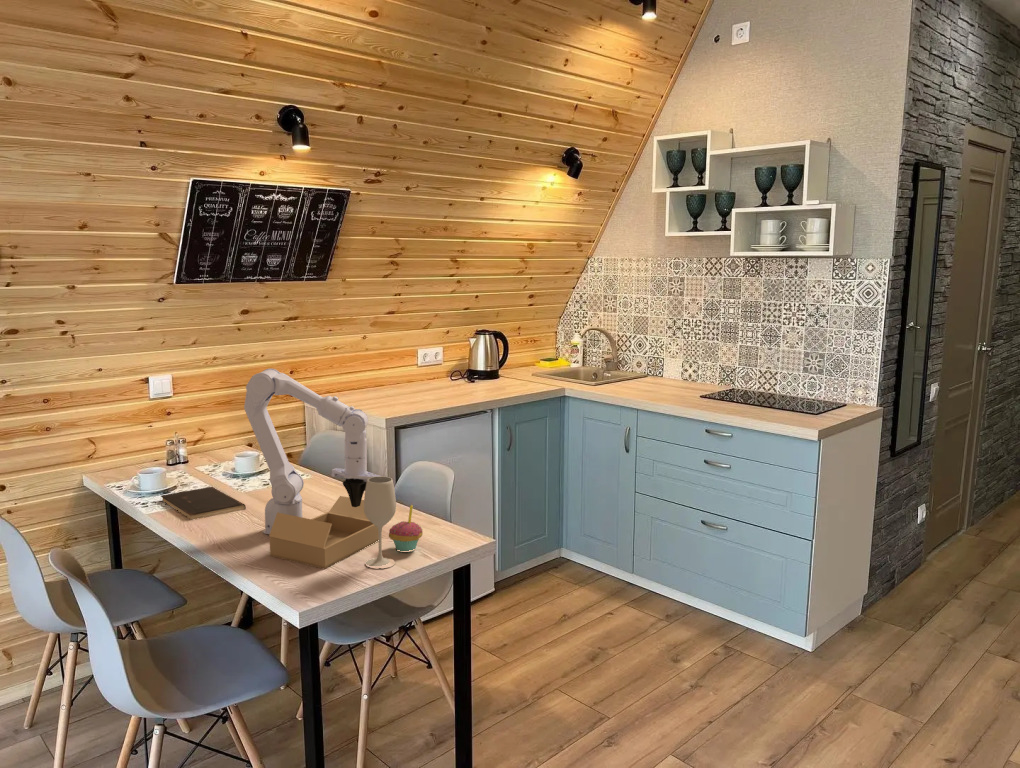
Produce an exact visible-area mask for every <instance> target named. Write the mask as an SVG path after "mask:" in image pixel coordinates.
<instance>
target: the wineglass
mask: <svg viewBox="0 0 1020 768" xmlns="http://www.w3.org/2000/svg"><path fill="white" fill-rule="evenodd" d="M363 500H364V513H365V515H366V517H367V518H368V519H369V521H370V522H372V523H373V524H374V525H375V526H377V528H378V532H379V541H378V555H377V557H373V558H374V559H372V558H370V559H371V560H369V559H368V561H367V560H366V561H367V562H366V561H365V562H366V564H367V565H369V566H382V565H386V564H388V563H389V562H390V561H389V560H388V559H386V558H387V557H385V558H383V557H384V556H383V554H382V551H383V550H382V546H383V545H382V542H383V541H382V538H383V537H382V531H383V528H384V527H385V525H387V524H388V523H389V522H390V521H391V520H392V519H393V518H394V516H395V514H396V511H397V510H396V509H397V508H396V507H397V500H396V492H395V485H394V481H393V478H391V477H390V476H381V475H380V476H377V477H371V478H369V479H368V480H367V484H366V489H365V491H364V498H363Z"/></svg>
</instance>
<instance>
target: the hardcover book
mask: <svg viewBox="0 0 1020 768" xmlns="http://www.w3.org/2000/svg"><path fill="white" fill-rule="evenodd" d="M160 497H161V498H162V502H163V501H164V503H165V502H166V503H167V505H168V506H169V505H170V507H171V508H172V507H173V509H174V508H175V509H176V511H177V510H178V511H177V512H178V513H180V512H181V513H180V514H182V515H183V514H184V516H185V517H186V516H187V517H186V518H187V519H189V518H190V519H189V520H191V521H193V520H192V519H195V520H198V519H197V518H199V519H203V517H204V518H208V517H214V516H218V515H223V514H224V515H225V514H228V513H234V512H238V511H243V510H246V508H247V507H246V504H245V503H243V502H241V501H240V500H238V499H235V498H234V497H232V496H231V495H228V494H226V493H225V492H223V491H221V490H219V489H217V488H215V487H213V486H209V487H203V488H197V489H196V488H195V489H192V490H191V489H190V490H183V491H180V492H174V493H167V494H163V495H160ZM166 503H165V504H166ZM175 509H174V510H175Z"/></svg>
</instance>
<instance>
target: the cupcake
mask: <svg viewBox="0 0 1020 768" xmlns="http://www.w3.org/2000/svg"><path fill="white" fill-rule="evenodd" d="M413 507H414V506H413V503H411V505H410V506H409V513H408V521H404V520H403V521H400V522H397V523H395V524H394V525H392V526H391V527H390V528H389V532H388V538H389V539H390V540H392V541H393V543H394V546H395V549H397V550H400V551H409V550H413V549H415V550H416V548H417V544H418V542H419V540H420V539H421V538H422V537H423V532H424V531H423V528H422V527H421V525H420V524H418V523H416V522H414V521H412V516H413V515H412V514H413ZM397 550H396V551H397Z"/></svg>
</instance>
